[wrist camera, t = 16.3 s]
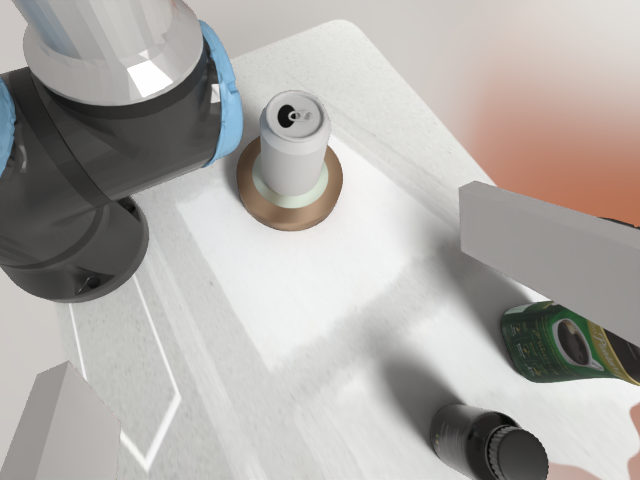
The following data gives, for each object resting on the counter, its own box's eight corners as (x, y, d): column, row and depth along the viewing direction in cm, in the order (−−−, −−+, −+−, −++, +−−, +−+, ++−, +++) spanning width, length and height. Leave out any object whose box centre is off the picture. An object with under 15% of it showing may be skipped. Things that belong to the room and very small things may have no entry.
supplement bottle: (476, 399, 43) (548, 411, 32) (490, 464, 41) (573, 501, 29) (422, 406, 42) (478, 421, 31) (434, 472, 40) (498, 515, 28)
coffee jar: (571, 372, 46) (755, 376, 28) (518, 388, 44) (680, 403, 27) (539, 299, 48) (689, 262, 31) (489, 311, 47) (618, 280, 30)
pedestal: (224, 215, 47) (221, 205, 44) (255, 131, 52) (254, 117, 49) (326, 243, 47) (330, 234, 44) (347, 156, 52) (352, 144, 49)
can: (266, 145, 47) (264, 77, 36) (321, 153, 48) (336, 89, 37) (258, 195, 45) (253, 139, 33) (316, 203, 45) (331, 150, 34)
